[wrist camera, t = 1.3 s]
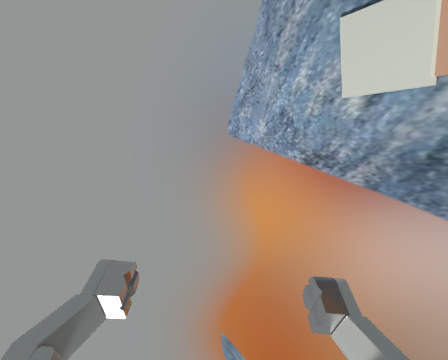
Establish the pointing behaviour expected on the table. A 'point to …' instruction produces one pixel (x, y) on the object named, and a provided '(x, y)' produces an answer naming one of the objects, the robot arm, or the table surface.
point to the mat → (387, 47)
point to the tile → (440, 41)
